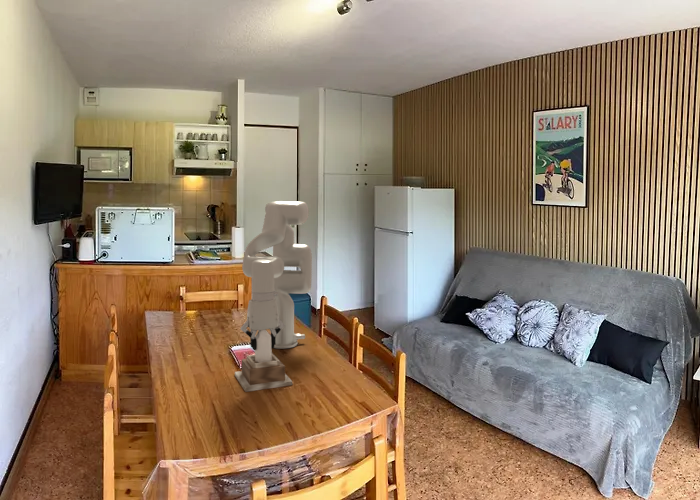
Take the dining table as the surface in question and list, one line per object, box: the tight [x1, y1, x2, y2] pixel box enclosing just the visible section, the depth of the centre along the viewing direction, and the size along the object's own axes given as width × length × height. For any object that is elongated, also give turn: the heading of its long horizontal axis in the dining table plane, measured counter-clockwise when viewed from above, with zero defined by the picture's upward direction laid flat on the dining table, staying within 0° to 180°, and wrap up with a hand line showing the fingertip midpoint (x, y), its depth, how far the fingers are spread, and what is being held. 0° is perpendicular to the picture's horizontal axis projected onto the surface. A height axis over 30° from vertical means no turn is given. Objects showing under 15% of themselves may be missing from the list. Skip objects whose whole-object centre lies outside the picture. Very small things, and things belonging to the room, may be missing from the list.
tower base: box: [234, 352, 293, 393], centre depth 182 cm, size 16×16×8 cm
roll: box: [254, 329, 273, 363], centre depth 181 cm, size 6×12×6 cm
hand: (263, 347), depth 181 cm, fingers closed on roll, 5 cm apart
